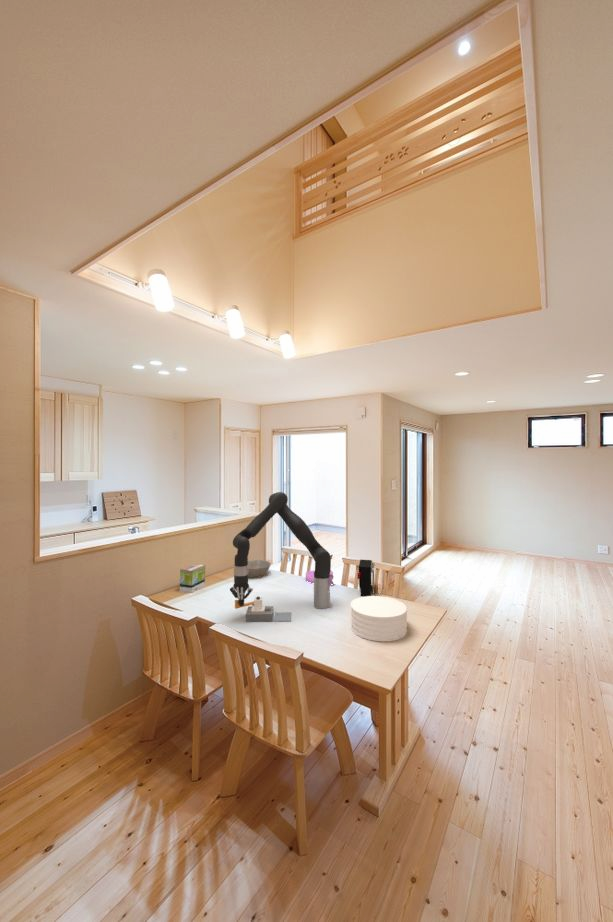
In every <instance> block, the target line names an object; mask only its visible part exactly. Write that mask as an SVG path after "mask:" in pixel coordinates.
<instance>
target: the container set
mask: <svg viewBox="0 0 613 922" xmlns="http://www.w3.org/2000/svg"><path fill="white" fill-rule="evenodd" d="M314 571H315V570H309V571H307V572H305V582H307V581H308V582H311V583H310V584H312V583H314ZM333 574H334V572H333V570H331V571H330V586H331V587H333V586H332V585H331V584H334V581H333V579H334V575H333ZM308 582H307V583H308Z"/></svg>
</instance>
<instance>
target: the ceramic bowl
mask: <svg viewBox="0 0 613 922" xmlns="http://www.w3.org/2000/svg"><path fill="white" fill-rule="evenodd" d="M271 565H272V564H271V562H270V561H267V560H264V559H263V560H261V559H257V560H254V559H253V560H248V579H249V578H252V579H257V578H262V577H264V576H265V575H266V574H267V573H268V571H269V569H270V567H271Z"/></svg>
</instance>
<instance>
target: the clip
mask: <svg viewBox="0 0 613 922" xmlns="http://www.w3.org/2000/svg"><path fill="white" fill-rule="evenodd" d="M248 606H254V600H253V601H249V602H244V605H243V606H239V605H238V599H235V600H234V608H235V609H241V608H245V607H248Z"/></svg>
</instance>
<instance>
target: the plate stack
mask: <svg viewBox="0 0 613 922" xmlns="http://www.w3.org/2000/svg"><path fill="white" fill-rule="evenodd" d="M407 609H408V608H407V606H406V605H405V603H403V602H402V601H400V600H398V599H395V598H392V597H387V596H380V595H378V596H377V595H374V596H366V597H362V596H359V597H357V598H355V599H353V600H352V601H351V602H350V629H351V632H352V633H354V634H355V635H357V636H358V637H360V638H362V639H365V640H369V641H373V642H385V643H386V642H393V641H397V640H401V639H403V638H404V637H405V636H406V635H407V631H408V629H407V627H408V623H407V622H408V621H407V620H408V616H407V615H408V613H407V612H408V610H407Z"/></svg>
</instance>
